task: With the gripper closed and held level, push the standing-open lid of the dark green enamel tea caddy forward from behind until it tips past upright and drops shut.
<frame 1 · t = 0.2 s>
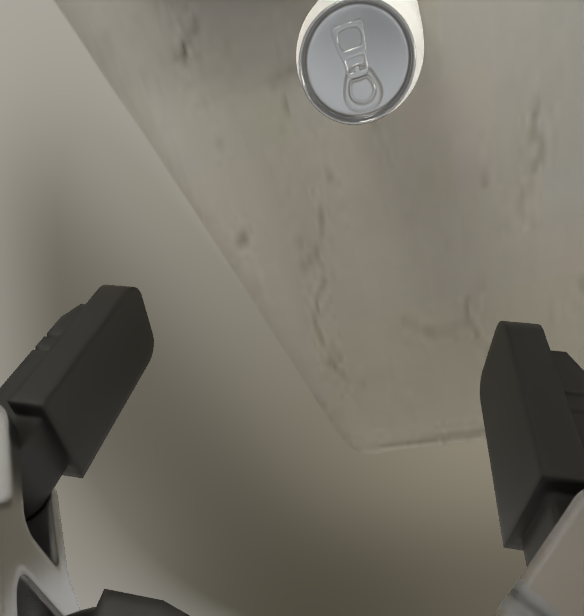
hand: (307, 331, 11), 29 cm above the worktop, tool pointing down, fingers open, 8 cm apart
can: (369, 22, 32), on the worktop
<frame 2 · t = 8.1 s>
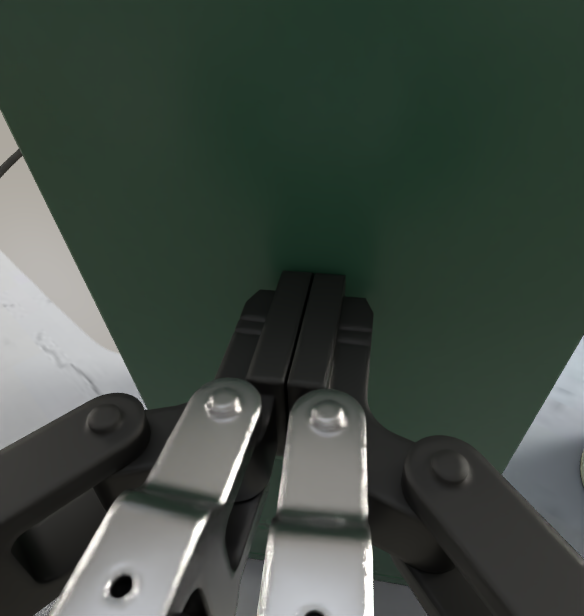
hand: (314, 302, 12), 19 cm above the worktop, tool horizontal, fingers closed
caddy: (334, 451, 30), on the worktop
lid: (318, 320, 13), point 18 cm above the worktop, hinge at 97.0°, touching gripper
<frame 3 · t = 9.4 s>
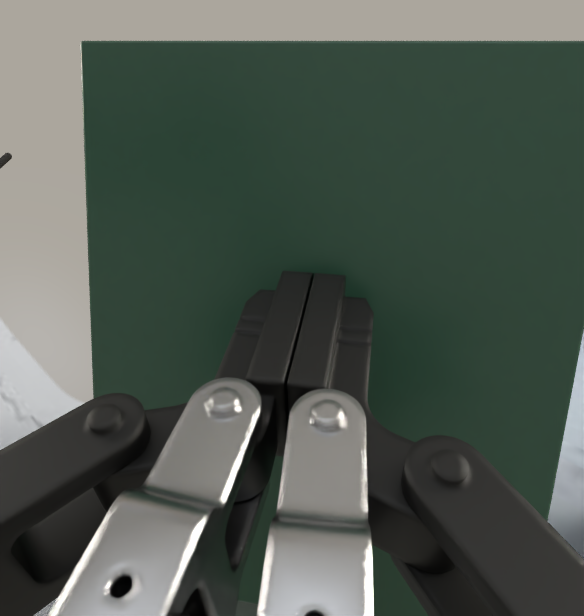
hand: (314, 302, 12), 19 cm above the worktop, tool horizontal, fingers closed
lid: (314, 359, 13), point 17 cm above the worktop, hinge at 62.9°
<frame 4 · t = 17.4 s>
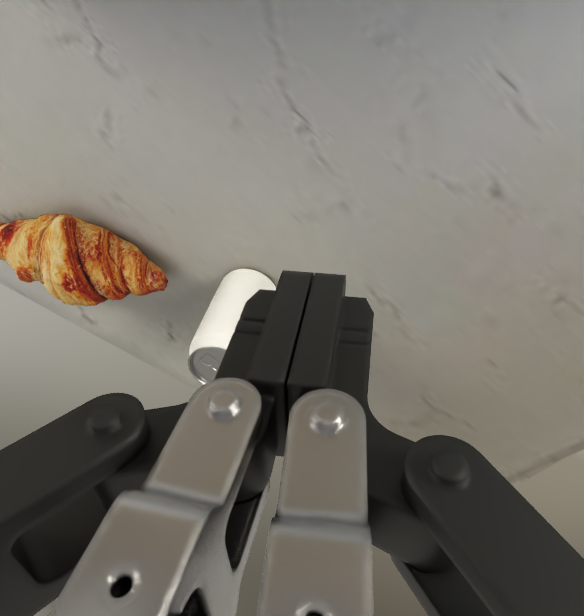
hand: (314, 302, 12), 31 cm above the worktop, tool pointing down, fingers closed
can: (250, 289, 52), on the worktop
croissant: (83, 244, 53), on the worktop
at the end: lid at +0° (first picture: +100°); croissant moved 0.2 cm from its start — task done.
